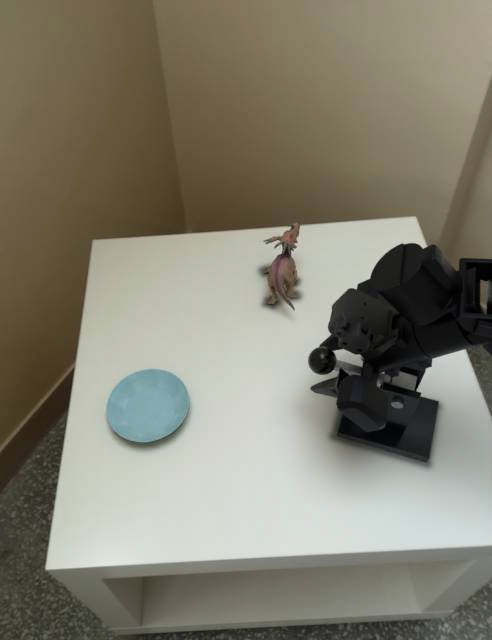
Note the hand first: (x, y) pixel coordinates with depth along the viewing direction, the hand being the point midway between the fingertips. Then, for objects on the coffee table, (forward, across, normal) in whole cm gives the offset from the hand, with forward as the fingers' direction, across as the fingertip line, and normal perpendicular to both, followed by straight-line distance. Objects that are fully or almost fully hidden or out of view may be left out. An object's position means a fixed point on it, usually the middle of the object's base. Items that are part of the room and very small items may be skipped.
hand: (316, 368), depth 69 cm
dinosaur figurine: (+12, -20, 0) cm, 23 cm away
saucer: (+22, +7, -10) cm, 25 cm away
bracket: (-2, +1, +13) cm, 13 cm away
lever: (-3, 0, +4) cm, 5 cm away
